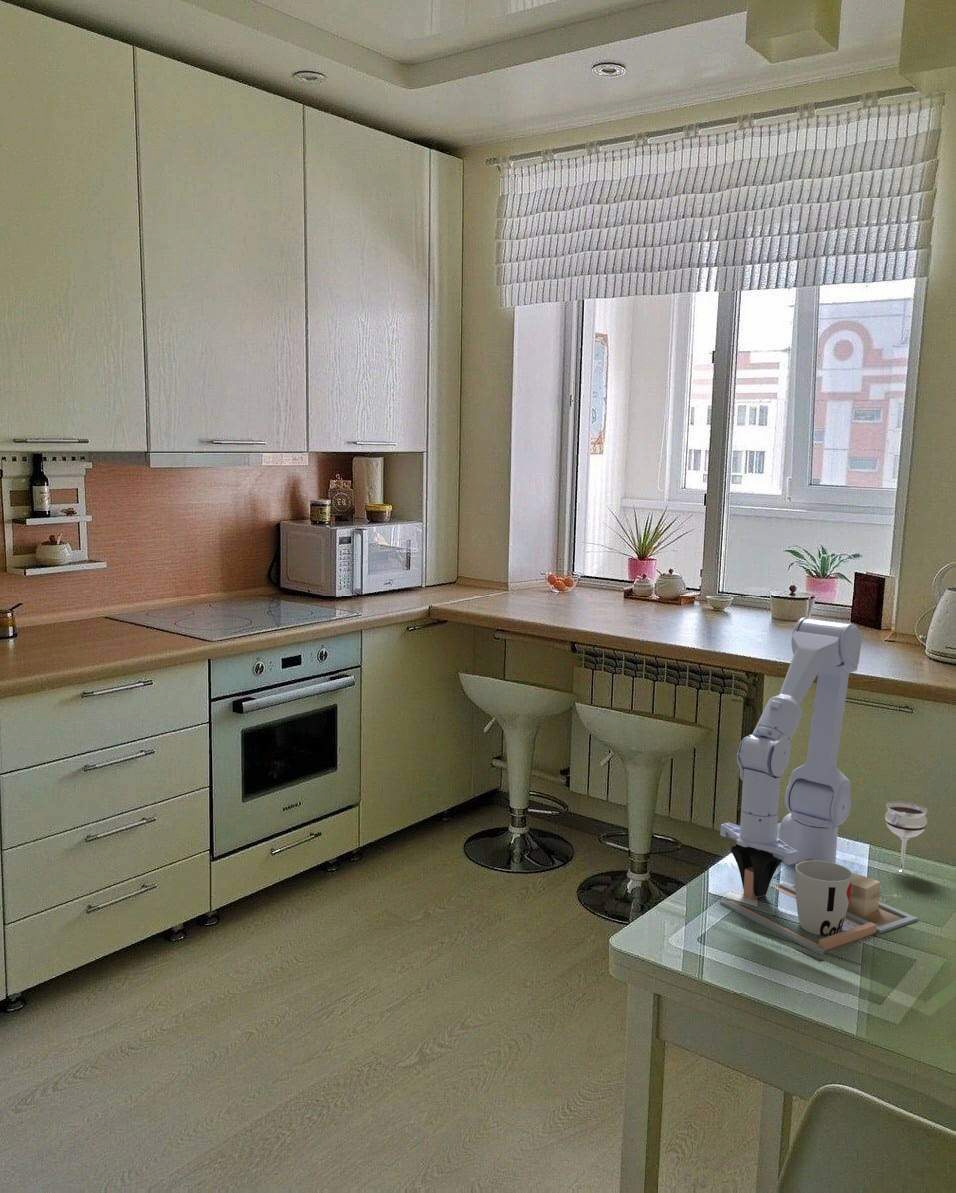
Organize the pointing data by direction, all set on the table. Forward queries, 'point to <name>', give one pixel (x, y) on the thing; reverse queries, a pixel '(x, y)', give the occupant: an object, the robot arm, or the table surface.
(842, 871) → the cup
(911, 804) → the wineglass
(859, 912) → the beech cube
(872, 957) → the table surface
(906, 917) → the lane frame
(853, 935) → the cup sled
